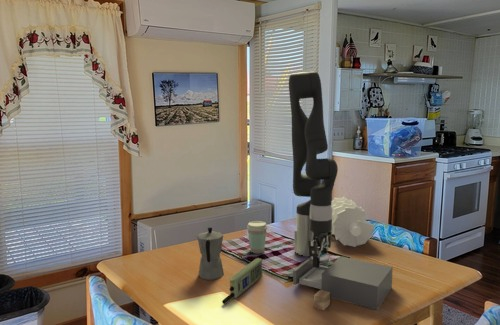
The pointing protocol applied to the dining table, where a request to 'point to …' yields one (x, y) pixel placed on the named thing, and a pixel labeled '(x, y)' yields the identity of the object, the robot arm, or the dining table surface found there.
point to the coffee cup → (257, 236)
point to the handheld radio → (244, 279)
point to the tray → (308, 274)
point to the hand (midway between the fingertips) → (320, 264)
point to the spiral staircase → (350, 223)
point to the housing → (358, 282)
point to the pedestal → (321, 299)
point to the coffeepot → (210, 255)
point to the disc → (323, 257)
